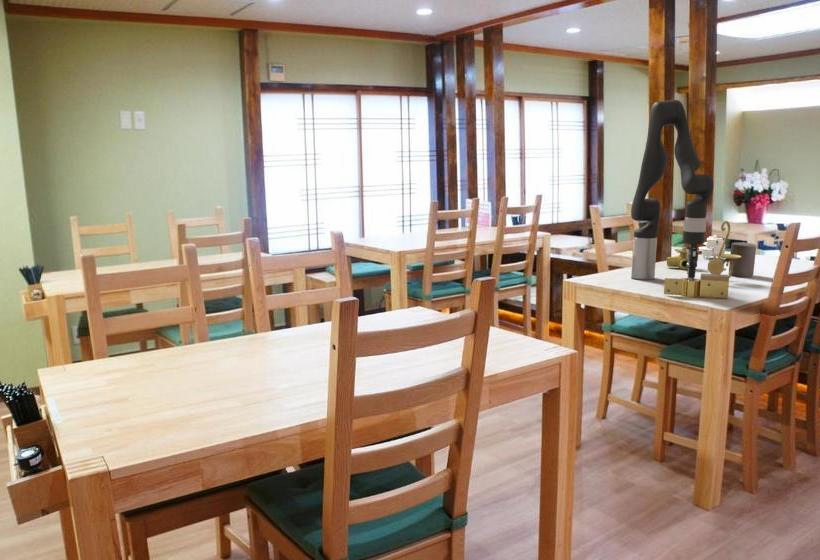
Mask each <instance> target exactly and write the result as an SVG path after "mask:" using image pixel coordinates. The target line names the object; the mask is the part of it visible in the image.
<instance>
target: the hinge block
mask: <svg viewBox="0 0 820 560" xmlns="http://www.w3.org/2000/svg"><path fill="white" fill-rule="evenodd" d="M699 278H700V279H699ZM699 278H695V277H694V281H692V280H688V277H681V278H671V277H670V278H669V277H668V278H667V277H665V278H664V286H663V288H664V289H663V295H668V296H669V295H672V296H680V295H681V296H680V297H683V296H684V297H683V298H693V299H694V298H702V299H705V298H706V299H721V300H722V299H723V300H728V296H729V284H730V278H729V276H728V274H722V273H721V274H711V273H700V277H699Z"/></svg>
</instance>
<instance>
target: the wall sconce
mask: <svg viewBox="0 0 820 560" xmlns="http://www.w3.org/2000/svg"><path fill="white" fill-rule="evenodd" d="M725 225H726V226H727V228H726V227H724V226H725ZM720 229H721V231H722V232H725V231H726V230H727V231H726V234H725V237H724V239H723V243H722V246H721V248H720V251H719V254H717V255H716V259H715V258H711V260H710V259H709V260H708V263H707V271H708V272H709V274H721V275H722V273H723V272H725V271H726V270H727V268H725V267H729V264H730V263H731V269H730V273H729V272H728V274H729V275H728V274H727V275H728V276H729V279H731V277H732V276H731V275H732V272H733V261H732V259H736V258H741V256H739V255H733V254H731V253H724V254H721V253H722V250H723V248H724V245H725V246H726V243H727V240H728V238H729V236H730V233H731V225H730V222H729V221H727V220H724V221H723V222H722V223H721V226H720ZM721 259H723V261H722V260H721Z"/></svg>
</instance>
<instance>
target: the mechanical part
mask: <svg viewBox="0 0 820 560" xmlns="http://www.w3.org/2000/svg"><path fill="white" fill-rule="evenodd" d="M723 241H724V239H723V238H722V237H717V234H713V235H711V236H708V237H707V238H706V241H705V243H703V244H702V245H705V246H699V247H698V248H699V252H701V255H702V256H703V257H702V259H705V257H706V259H709V260H710V257H713V258H712V259H717V256H716V255H717V254H719V251H720V248H721V246H722V243H723ZM725 252H726V244H725V245H724V248H723V250H722V253H721V254H726V253H725Z"/></svg>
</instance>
